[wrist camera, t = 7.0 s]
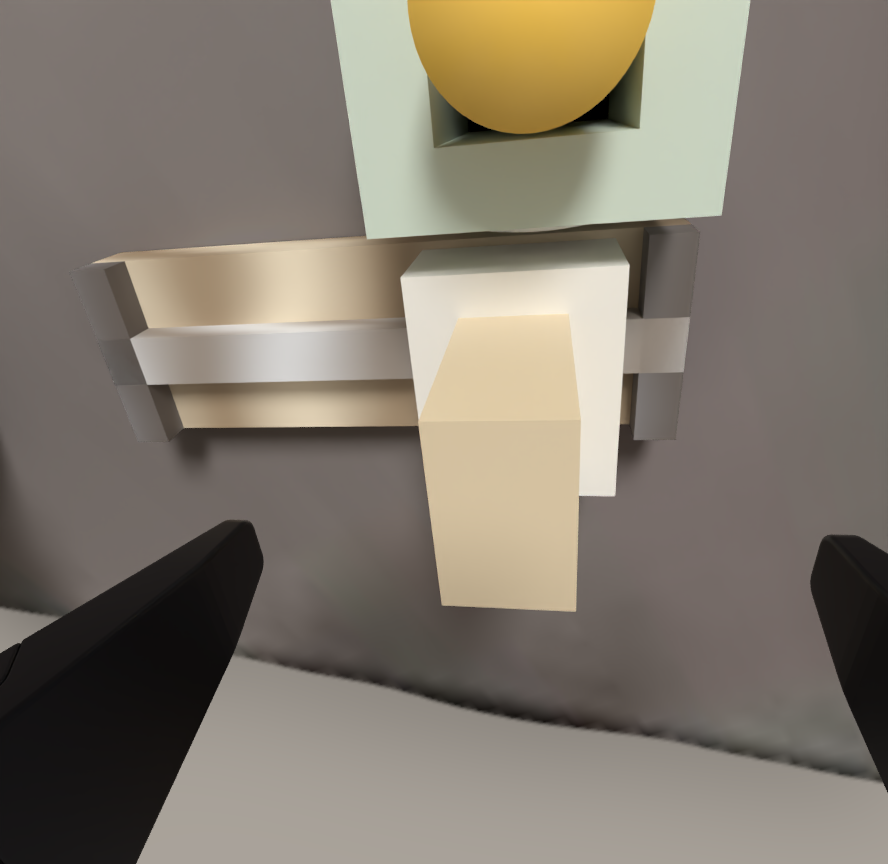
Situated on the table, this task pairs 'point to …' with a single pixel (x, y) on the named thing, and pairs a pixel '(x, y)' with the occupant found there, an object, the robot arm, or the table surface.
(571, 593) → the carriage
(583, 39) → the button
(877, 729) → the robot arm
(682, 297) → the rail
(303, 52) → the table surface
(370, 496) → the table surface
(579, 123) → the button housing
